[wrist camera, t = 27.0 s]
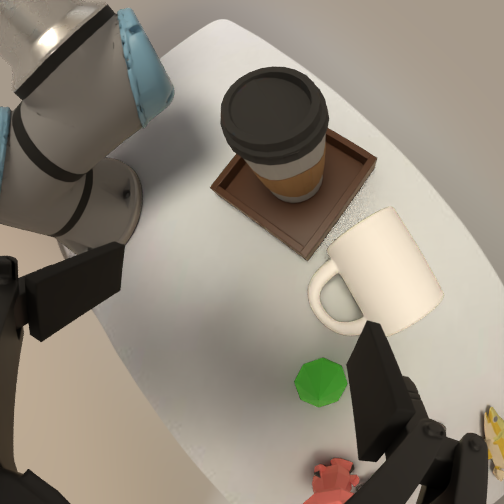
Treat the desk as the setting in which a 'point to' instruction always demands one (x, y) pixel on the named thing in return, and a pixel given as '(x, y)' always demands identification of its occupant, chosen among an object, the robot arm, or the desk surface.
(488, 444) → the toy
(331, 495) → the cat figurine
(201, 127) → the desk surface
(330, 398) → the green pyramid
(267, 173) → the coffee cup
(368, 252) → the mug
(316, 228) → the serving tray
